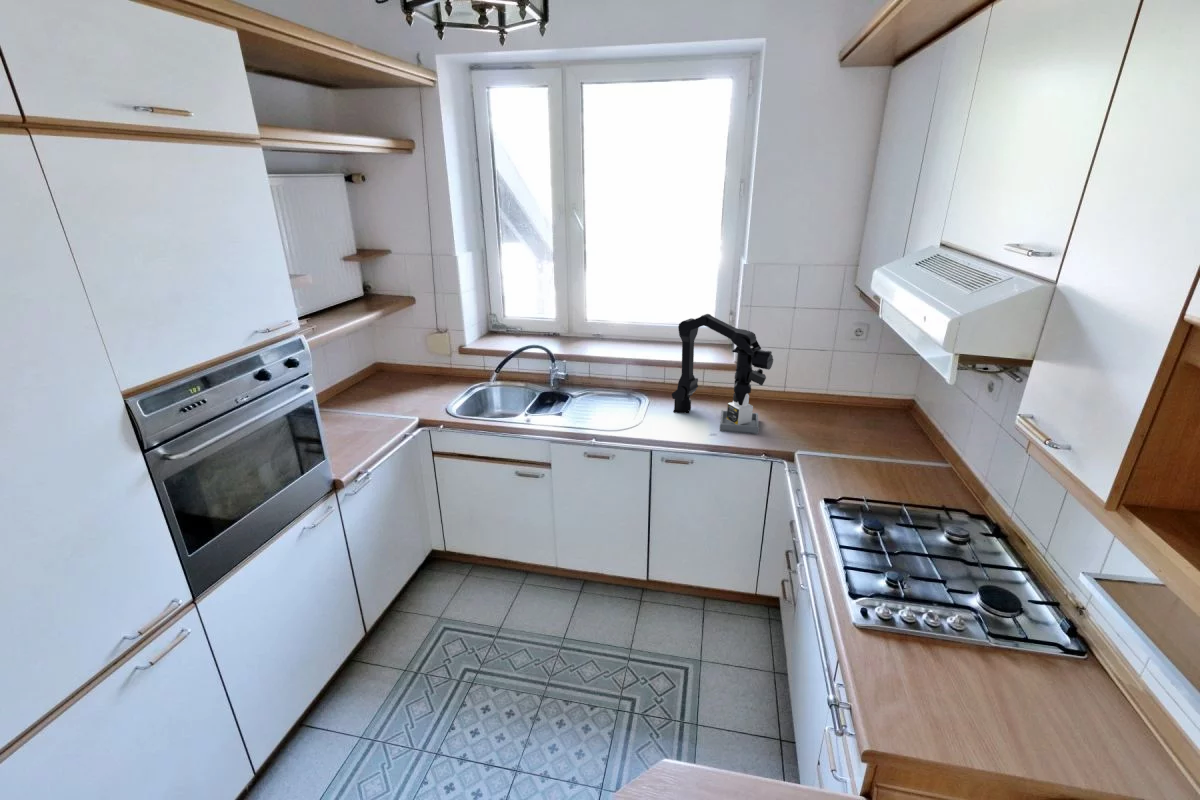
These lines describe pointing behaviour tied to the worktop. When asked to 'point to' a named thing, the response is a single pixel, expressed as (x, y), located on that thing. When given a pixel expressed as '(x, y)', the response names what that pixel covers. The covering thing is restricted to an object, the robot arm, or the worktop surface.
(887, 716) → the worktop surface
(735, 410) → the medicine bottle
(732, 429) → the bin
